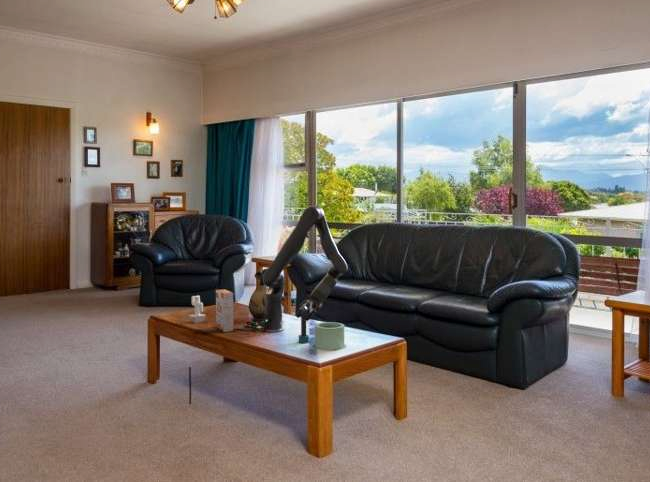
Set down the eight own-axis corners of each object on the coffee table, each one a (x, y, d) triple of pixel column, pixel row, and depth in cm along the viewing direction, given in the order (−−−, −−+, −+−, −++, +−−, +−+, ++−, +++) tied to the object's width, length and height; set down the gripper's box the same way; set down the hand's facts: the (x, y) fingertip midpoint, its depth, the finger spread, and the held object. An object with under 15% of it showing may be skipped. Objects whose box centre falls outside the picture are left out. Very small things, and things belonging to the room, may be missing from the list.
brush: (298, 343, 275) (298, 312, 275) (299, 340, 280) (299, 310, 280) (308, 343, 275) (308, 312, 275) (309, 340, 280) (309, 310, 280)
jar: (314, 349, 262) (314, 328, 262) (315, 342, 276) (315, 322, 276) (344, 349, 262) (344, 328, 262) (344, 342, 276) (344, 322, 276)
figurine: (196, 323, 319) (196, 297, 319) (187, 321, 325) (187, 295, 325) (207, 321, 324) (207, 295, 324) (197, 319, 331) (197, 294, 331)
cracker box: (215, 327, 309) (215, 289, 309) (225, 326, 312) (226, 289, 312) (222, 332, 297) (222, 293, 297) (233, 331, 299) (233, 292, 300)
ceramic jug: (262, 322, 322) (263, 270, 322) (243, 319, 330) (243, 269, 331) (281, 318, 335) (281, 268, 336) (262, 315, 344) (262, 266, 344)
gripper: (308, 286, 288) (289, 311, 281) (324, 290, 276) (304, 316, 269) (317, 296, 291) (298, 320, 284) (333, 299, 279) (313, 325, 272)
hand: (301, 318), depth 277 cm, fingers open, 8 cm apart
